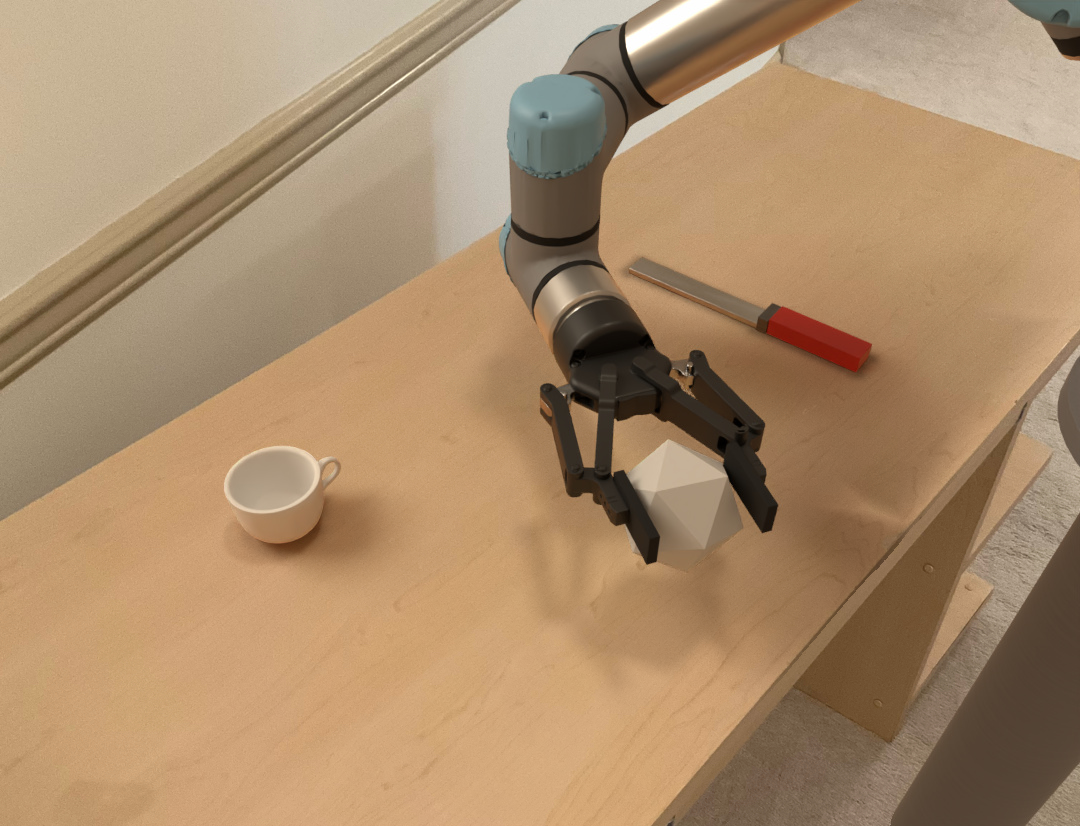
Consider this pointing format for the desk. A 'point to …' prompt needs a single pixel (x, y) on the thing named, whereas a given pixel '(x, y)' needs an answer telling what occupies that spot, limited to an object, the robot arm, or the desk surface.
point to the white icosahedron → (685, 504)
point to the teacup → (278, 492)
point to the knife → (763, 317)
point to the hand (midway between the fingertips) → (712, 534)
